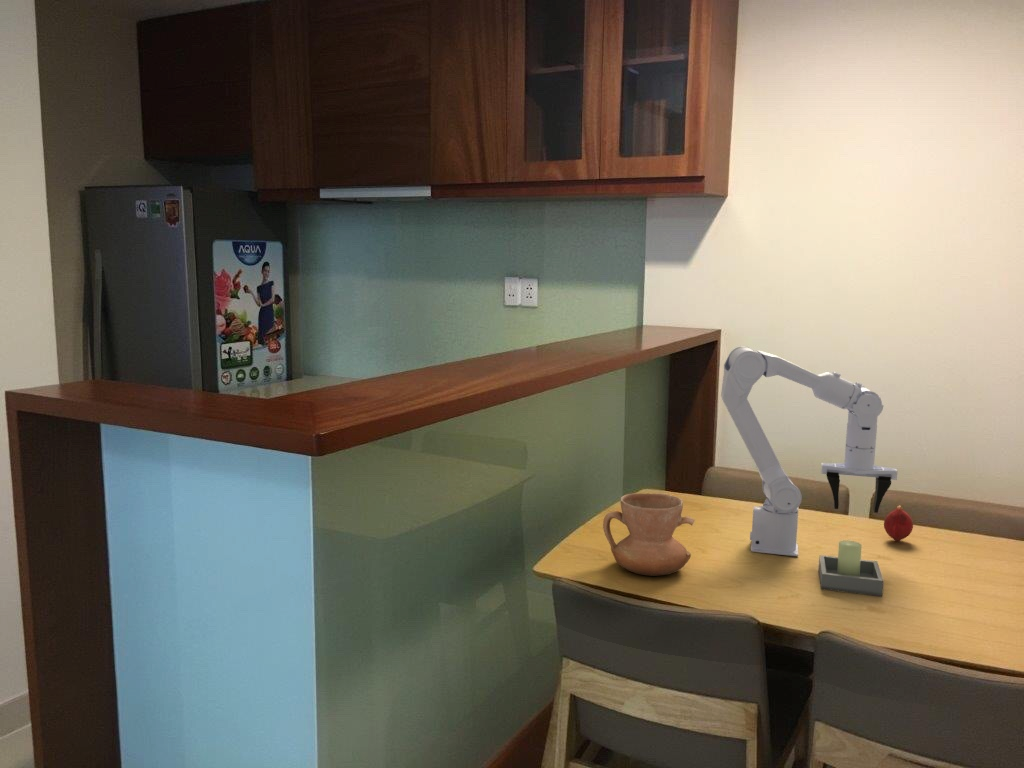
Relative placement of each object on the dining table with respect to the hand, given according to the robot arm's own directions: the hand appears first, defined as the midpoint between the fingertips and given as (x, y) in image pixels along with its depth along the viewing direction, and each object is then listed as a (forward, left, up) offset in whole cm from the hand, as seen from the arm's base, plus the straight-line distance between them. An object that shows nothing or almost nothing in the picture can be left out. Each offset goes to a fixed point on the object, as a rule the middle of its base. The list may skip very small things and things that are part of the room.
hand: (855, 509), depth 176 cm
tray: (-2, -18, -9) cm, 20 cm away
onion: (+10, +11, -10) cm, 18 cm away
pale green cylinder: (-2, -18, -9) cm, 20 cm away
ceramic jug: (-40, -23, -10) cm, 47 cm away
